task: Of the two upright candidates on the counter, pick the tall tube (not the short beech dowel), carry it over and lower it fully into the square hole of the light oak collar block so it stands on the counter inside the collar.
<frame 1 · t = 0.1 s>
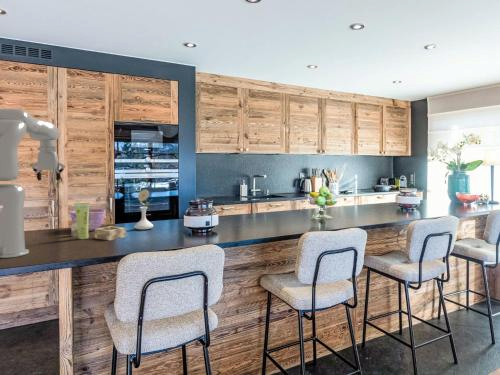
hand: (48, 180, 201), 31 cm above the worktop, tool pointing down, fingers open, 9 cm apart
short dowel: (76, 235, 200), on the worktop
flower in vase: (144, 229, 221), on the worktop
collar block: (110, 237, 196), on the worktop
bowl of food: (88, 230, 218), on the worktop
tube: (83, 238, 193), on the worktop
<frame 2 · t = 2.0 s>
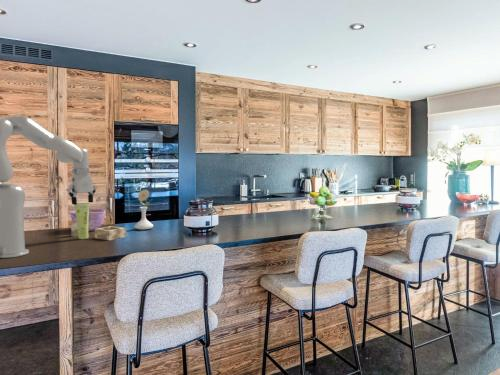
hand: (82, 203, 192), 19 cm above the worktop, tool pointing down, fingers open, 9 cm apart
nothing on the worktop moved.
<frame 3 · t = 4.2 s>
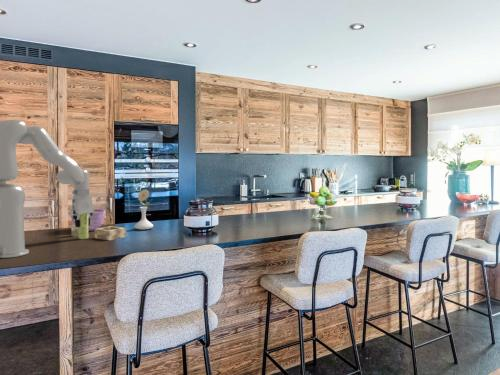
hand: (82, 225, 193), 7 cm above the worktop, tool pointing down, fingers closed on tube, 5 cm apart
tube: (83, 238, 193), on the worktop, touching gripper
everything else where it was.
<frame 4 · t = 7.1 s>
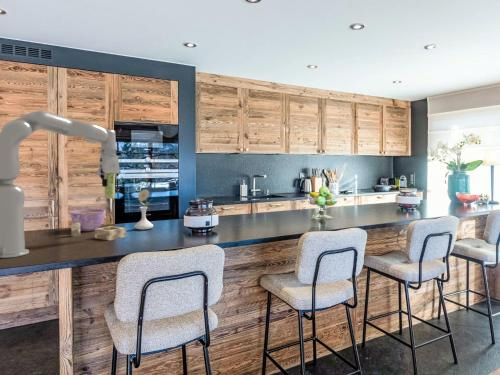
hand: (109, 185, 194), 29 cm above the worktop, tool pointing down, fingers closed on tube, 5 cm apart
tube: (109, 198, 195), point 21 cm above the worktop, touching gripper
everything else where it was.
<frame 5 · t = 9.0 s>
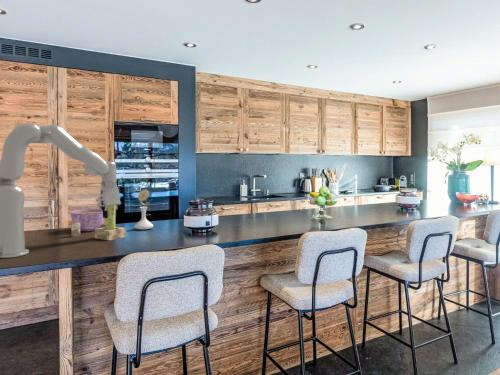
hand: (109, 216, 195), 11 cm above the worktop, tool pointing down, fingers closed on tube, 5 cm apart
tube: (110, 229, 196), point 4 cm above the worktop, touching gripper
everything else where it was.
when the fingers open (8 cm above the worktop, at t = 10.5 s): tube drops 1 cm, resting in collar block.
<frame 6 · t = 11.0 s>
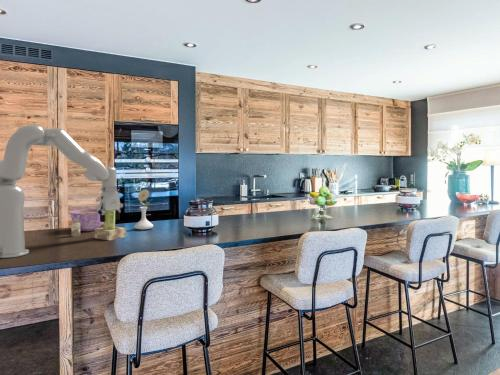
hand: (110, 220, 195), 9 cm above the worktop, tool pointing down, fingers open, 9 cm apart
tube: (109, 237, 196), resting in collar block
everything else where it was.
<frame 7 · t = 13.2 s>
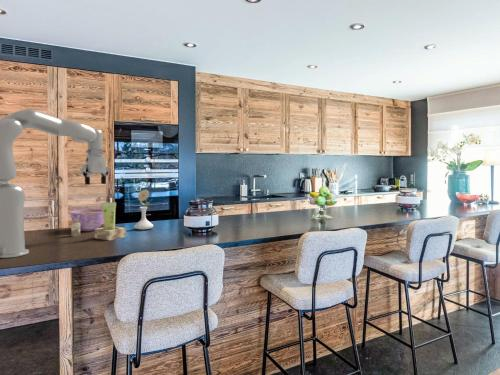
hand: (95, 184, 194), 29 cm above the worktop, tool pointing down, fingers open, 9 cm apart
nothing on the worktop moved.
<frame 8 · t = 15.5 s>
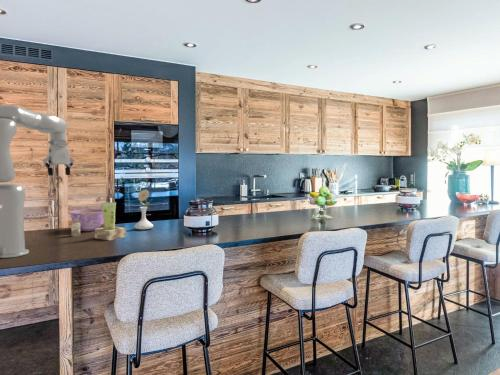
hand: (59, 175, 195), 34 cm above the worktop, tool pointing down, fingers open, 9 cm apart
nothing on the worktop moved.
at the end: tube 0.5 cm off-centre on the collar block, point 0.0 cm above the collar block's base; tube tilted 0°; the gripper is holding nothing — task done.
